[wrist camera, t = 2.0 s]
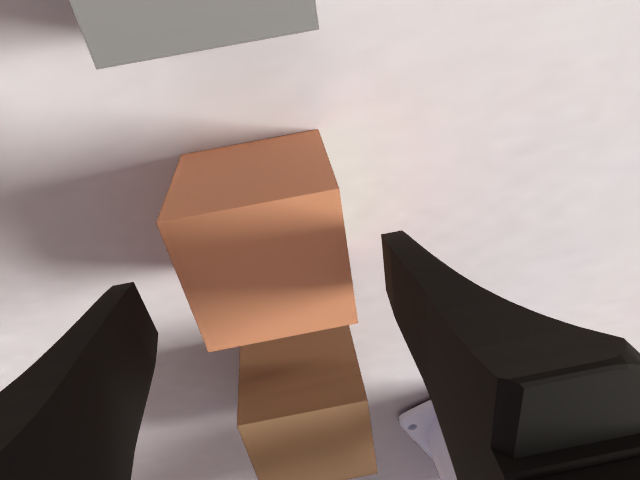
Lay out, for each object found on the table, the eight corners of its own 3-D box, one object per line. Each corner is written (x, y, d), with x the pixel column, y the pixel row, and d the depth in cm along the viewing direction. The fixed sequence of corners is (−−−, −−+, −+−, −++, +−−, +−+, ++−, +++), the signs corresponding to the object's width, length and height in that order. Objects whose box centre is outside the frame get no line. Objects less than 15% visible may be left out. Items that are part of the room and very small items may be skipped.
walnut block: (356, 382, 24) (377, 473, 20) (263, 400, 24) (265, 495, 20) (345, 312, 21) (367, 400, 17) (240, 332, 21) (236, 425, 17)
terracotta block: (335, 242, 19) (358, 323, 15) (218, 264, 19) (208, 352, 15) (317, 128, 17) (339, 188, 12) (181, 154, 16) (156, 223, 12)
